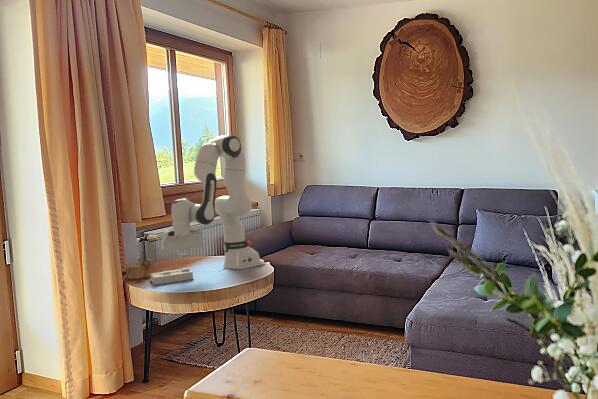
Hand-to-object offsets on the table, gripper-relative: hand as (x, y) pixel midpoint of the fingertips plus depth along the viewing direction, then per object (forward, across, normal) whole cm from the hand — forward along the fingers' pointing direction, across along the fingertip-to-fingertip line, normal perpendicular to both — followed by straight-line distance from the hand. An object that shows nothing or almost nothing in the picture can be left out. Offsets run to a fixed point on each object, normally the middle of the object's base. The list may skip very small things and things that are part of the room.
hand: (183, 257), depth 260 cm
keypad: (+11, +6, 0) cm, 13 cm away
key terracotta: (+10, +4, 0) cm, 11 cm away
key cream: (+10, +13, 0) cm, 17 cm away
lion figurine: (+11, +19, -19) cm, 29 cm away
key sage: (+9, +9, 0) cm, 12 cm away
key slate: (+9, -1, 0) cm, 9 cm away
